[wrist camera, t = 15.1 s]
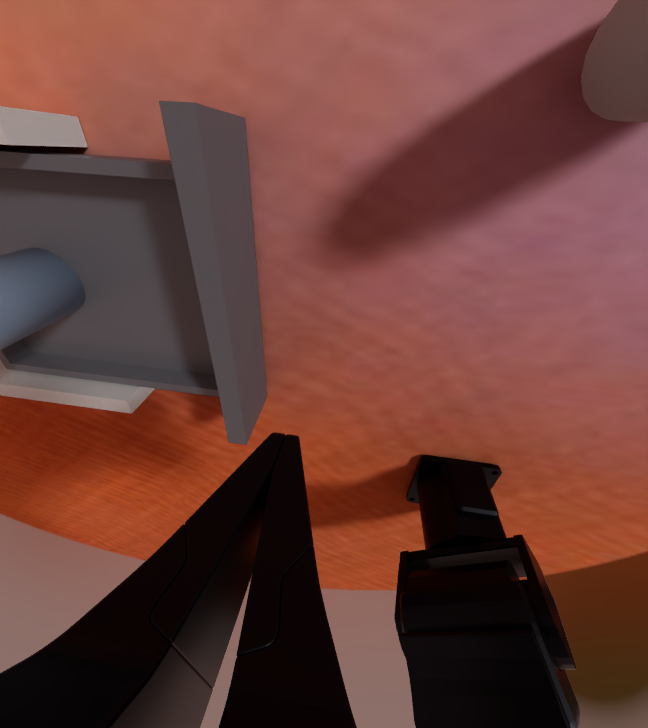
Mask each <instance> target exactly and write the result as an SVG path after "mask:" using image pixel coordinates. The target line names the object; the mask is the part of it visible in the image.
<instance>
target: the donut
mask: <svg viewBox="0 0 648 728" xmlns="http://www.w3.org/2000/svg"><path fill="white" fill-rule="evenodd" d="M581 86H582V96H583V99H584V100H585V102H586V104H587V105H588V107H589V109H590V110H591V112H593V113H595V114H596V115H598V116H600V117H601V118H603V119H605V120H613V121H623V122H647V121H648V0H618V1H617V3H616V4H615V6H614V7H613V8H612V10H611V11H610V12H609V14H608V15H607V17H606V18H605V19H604V21H603V22H602V24H601V25H600V26H599V28H598V29H597V32H596V34H595V36H594V38H593V40H592V42H591V44H590V46H589V49H588V51H587V53H586V55H585V60H584V65H583V69H582V74H581Z"/></svg>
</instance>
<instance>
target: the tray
mask: <svg viewBox="0 0 648 728" xmlns="http://www.w3.org/2000/svg"><path fill="white" fill-rule="evenodd" d="M159 104H160V109H161V114H162V119H163V123H164V128H165V133H166V138H167V143H168V148H169V153H170V158H171V160H156V159H142V158H128V157H114V156H100V155H85V154H71V153H57V152H43V151H29V150H14V149H0V255H4V254H8V253H12V252H15V251H19V250H23V249H27V248H41V249H44V250H47V251H49V252H51V253H53V254H55V255H57V256H58V257H60V258H61V259H62V260H64V261H65V262H66V263H67V264H68V265H69V266H70V267H71V268H72V269H73V270H74V271H75V272H76V274H77V275H78V277H79V278H80V280H81V282H82V284H83V287H84V290H85V301H84V304H83V306H82V307H81V308H79V309H78V310H76V311H74V312H72V313H70V314H68V315H66V316H64V317H62V318H61V319H59V320H57V321H55V322H53V323H51V324H49V325H47V326H45V327H43V328H42V329H40V330H38V331H36V332H34V333H32V334H30V335H28V336H26V337H24V338H22V339H21V340H19V341H17V342H15V343H13V344H11V345H9V346H7V347H5V348H3V349H2V350H0V360H1V361H2V363H3V364H4V366H5V367H6V368H7V369H10V370H17V371H25V372H33V373H40V374H48V375H56V376H63V377H71V378H78V379H86V380H94V381H101V382H109V383H117V384H124V385H132V386H139V387H147V388H155V389H162V390H170V391H178V392H185V393H193V394H200V395H208V396H216V397H219V398H220V402H221V407H222V412H223V417H224V422H225V427H226V432H227V437H228V442H230V443H237V444H244V445H247V442H248V440H249V438H250V435H251V433H252V431H253V428H254V426H255V424H256V421H257V419H258V417H259V415H260V412H261V410H262V408H263V405H264V403H265V401H266V398H267V390H266V378H265V365H264V352H263V340H262V327H261V314H260V301H259V289H258V276H257V263H256V251H255V238H254V225H253V213H252V200H251V187H250V174H249V162H248V149H247V136H246V124H245V118H244V117H240V116H237V115H234V114H230V113H227V112H224V111H220V110H217V109H214V108H210V107H207V106H204V105H200V104H197V103H190V102H171V101H159Z"/></svg>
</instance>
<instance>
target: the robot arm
mask: <svg viewBox="0 0 648 728" xmlns="http://www.w3.org/2000/svg"><path fill="white" fill-rule="evenodd" d="M501 473H502V472H501V469H500V467H499V466H497V465H492V464H485V463H478V462H470V461H463V460H456V459H449V458H442V457H434V456H422V457H421V458H420V460H419V463H418V465H417V468H416V470H415V473H414V475H413V478H412V481H411V483H410V486H409V488H408V491H407V494H406V500H407V501H409V502H413V503H419V506H420V513H421V520H422V528H423V535H424V542H425V549H426V550H419V551H412V552H408V551H403V552H401V553H400V563H399V571H398V583H397V595H396V606H395V623H396V629H397V632H398V636H399V641H400V644H401V647H402V650H403V652H404V655H405V657H406V660H407V666H408V671H409V677H410V684H411V693H412V702H413V712H414V721H415V726H416V728H579V723H580V709H579V705H578V702H577V699H576V697H575V694H574V692H573V689H572V686H571V684H570V681H569V679H568V676H567V674H566V671H565V670H566V669H567V670H576V669H577V667H576V664H575V661H574V658H573V655H572V652H571V649H570V646H569V643H568V640H567V637H566V634H565V631H564V628H563V625H562V622H561V619H560V616H559V613H558V609H557V606H556V604H555V601H554V598H553V596H552V594H551V592H550V590H549V587H548V584H547V582H546V580H545V577H544V575H543V573H542V570H541V568H540V566H539V564H538V562H537V560H536V558H535V557H534V555H533V553H532V551H531V550H530V548H529V546H528V544H527V542H526V541H525V539H524V537H523V535H522V534H521V535H514V537H511V538H506V535H505V532H504V529H503V526H502V524H501V521H500V518H499V515H498V510H497V507H496V504H495V501H494V499H493V496H492V493H491V488H492V487H493V485H494V484H495V482H496V481H497V479H498V478H499V476H500V475H501ZM251 576H252V578H251ZM519 577H527V579H528V580H520V579H519ZM250 579H251V584H250V589H249V594H248V599H247V605H246V609H245V615H244V620H243V625H242V630H241V635H240V640H239V646H238V651H237V658H236V661H235V666H234V671H233V676H232V680H231V685H230V689H229V693H228V698H227V701H226V705H225V708H224V711H223V715H222V718H221V722H220V725H219V728H357V727H356V724H355V721H354V718H353V714H352V711H351V708H350V704H349V700H348V697H347V693H346V689H345V685H344V682H343V678H342V674H341V670H340V667H339V662H338V658H337V654H336V650H335V646H334V642H333V639H332V635H331V631H330V627H329V623H328V619H327V616H326V611H325V607H324V602H323V598H322V594H321V589H320V584H319V578H318V572H317V566H316V559H315V551H314V547H313V537H312V530H311V522H310V515H309V507H308V500H307V492H306V485H305V477H304V470H303V462H302V455H301V447H300V440H299V436H296V435H289V434H287V435H285V434H282V433H272V434H270V435H269V436H268V437H267V439H266V440H265V441H264V442H263V443H262V444H261V445H260V446H259V447H258V448H257V449H256V450H255V451H254V452H253V453H252V454H251V455H250V456H249V457H248V458H247V459H246V460H245V461H244V462H243V463H242V464H241V465H240V466H239V467H238V468H237V469H236V470H235V472H234V473H233V474H232V475H231V476H230V477H229V478H228V479H227V480H226V481H225V482H224V483H223V484H222V485H221V486H220V487H219V488H218V489H217V490H216V491H215V492H214V493H213V494H212V495H211V496H210V497H209V498H208V499H207V500H206V501H205V502H204V503H203V504H202V506H201V507H200V508H199V509H198V510H197V511H196V512H195V513H194V514H193V515H192V516H191V517H190V518H189V519H188V520H187V521H186V522H185V525H182V526H181V527H180V528H179V529H178V530H177V531H176V532H175V533H174V534H173V535H172V536H171V537H170V538H169V539H168V540H167V541H166V542H165V543H164V544H163V545H162V546H161V547H160V548H159V549H158V550H157V551H156V552H155V553H154V554H153V555H152V556H151V557H150V558H149V559H148V560H147V561H145V562H144V563H143V564H142V565H141V566H140V567H139V568H138V569H137V570H136V571H134V572H133V573H132V574H131V575H130V576H129V577H128V578H126V579H125V580H124V581H123V582H122V583H121V584H120V585H118V586H117V587H116V588H115V589H114V590H113V591H112V592H110V593H109V594H108V595H107V596H106V597H105V598H104V599H102V600H101V601H100V602H99V603H98V604H97V605H95V607H93V608H92V609H91V610H90V611H89V612H88V613H86V614H85V615H84V616H83V617H82V618H81V619H80V620H78V621H77V622H76V623H75V624H74V625H73V626H71V627H70V628H69V629H68V630H67V631H65V632H64V633H63V634H62V635H60V636H59V637H58V638H56V639H55V640H54V641H52V642H51V643H50V644H48V645H47V646H45V647H44V648H43V649H41V650H39V651H38V652H36V653H35V654H33V655H31V656H30V657H28V658H26V659H25V660H23V661H21V662H20V663H18V664H16V665H14V666H12V667H11V668H9V669H7V670H5V671H3V672H2V673H0V728H200V726H201V723H202V720H203V717H204V714H205V711H206V708H207V705H208V703H209V700H210V696H211V694H212V690H213V689H212V688H213V687H214V685H215V682H216V678H217V676H218V673H219V670H220V667H221V664H222V661H223V658H224V655H225V652H226V649H227V646H228V643H229V640H230V637H231V635H232V632H233V628H234V625H235V623H236V620H237V617H238V614H239V611H240V608H241V605H242V602H243V599H244V596H245V593H246V590H247V587H248V584H249V582H250Z"/></svg>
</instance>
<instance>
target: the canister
mask: <svg viewBox="0 0 648 728" xmlns="http://www.w3.org/2000/svg"><path fill="white" fill-rule="evenodd" d="M84 301H85V290H84V287H83V284H82V282H81V280H80V278H79V277H78V275H77V274H76V272H75V271H74V270H73V269H72V268H71V267H70V266H69V265H68V264H67V263H66V262H65V261H64V260H62V259H61V258H60V257H58V256H57V255H55V254H53V253H51V252H49V251H47V250H44V249H41V248H27V249H23V250H19V251H15V252H12V253H8V254H4V255H0V350H2V349H3V348H5V347H7V346H9V345H11V344H13V343H15V342H17V341H19V340H21V339H22V338H24V337H26V336H28V335H30V334H32V333H34V332H36V331H38V330H40V329H42V328H43V327H45V326H47V325H49V324H51V323H53V322H55V321H57V320H59V319H61V318H62V317H64V316H66V315H68V314H70V313H72V312H74V311H76V310H78V309H79V308H81V307H82V306H83V304H84Z"/></svg>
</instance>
